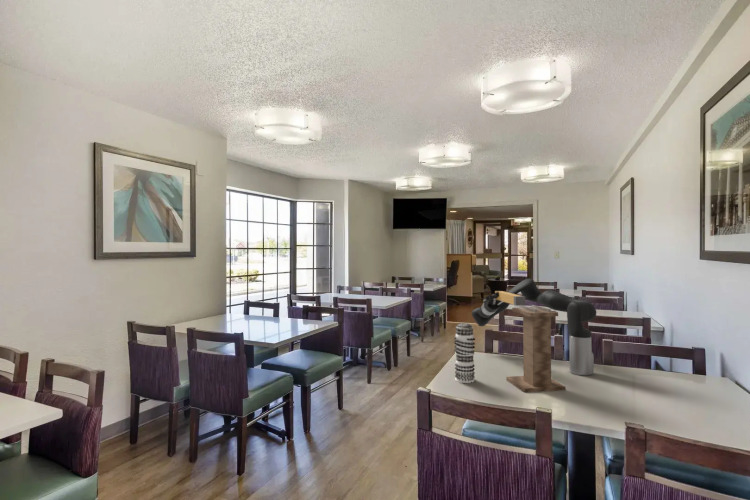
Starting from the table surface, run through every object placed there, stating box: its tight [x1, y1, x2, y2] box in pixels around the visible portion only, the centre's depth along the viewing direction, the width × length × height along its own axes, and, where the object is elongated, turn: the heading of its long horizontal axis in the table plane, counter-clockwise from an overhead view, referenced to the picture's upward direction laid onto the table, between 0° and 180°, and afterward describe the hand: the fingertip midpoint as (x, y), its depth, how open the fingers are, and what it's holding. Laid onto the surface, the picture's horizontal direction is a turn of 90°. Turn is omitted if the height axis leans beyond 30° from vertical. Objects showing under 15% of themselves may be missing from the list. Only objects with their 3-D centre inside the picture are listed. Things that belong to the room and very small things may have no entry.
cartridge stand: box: [505, 304, 566, 393], centre depth 176 cm, size 18×16×33 cm
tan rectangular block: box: [494, 290, 526, 307], centre depth 199 cm, size 5×23×4 cm, turn 8°
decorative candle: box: [453, 322, 476, 384], centre depth 183 cm, size 9×9×25 cm
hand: (502, 293), depth 206 cm, fingers closed on tan rectangular block, 4 cm apart
